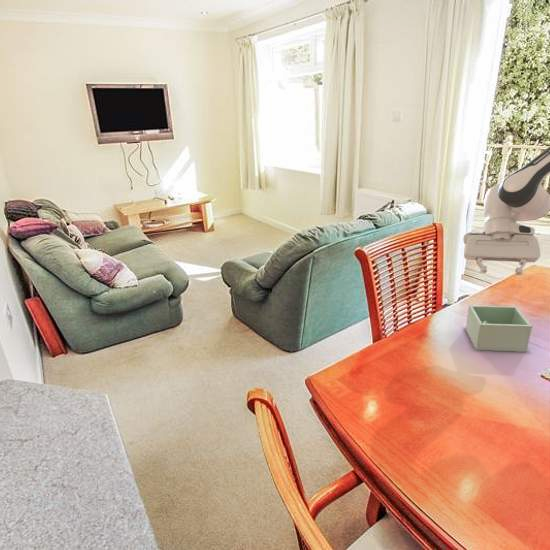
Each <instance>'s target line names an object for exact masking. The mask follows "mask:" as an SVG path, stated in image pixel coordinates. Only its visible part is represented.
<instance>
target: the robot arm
mask: <svg viewBox="0 0 550 550" xmlns="http://www.w3.org/2000/svg"><path fill="white" fill-rule="evenodd" d="M549 175H550V146H548V147H547V148H546V149H544V150H543V151H542V152H541V153H539V154H538V155H536V157H534V158H533V159H532V160H530V161H529V162H528V163H527V164H525V165H524V166H522V167H521V168H519V169H516V170H515V171H513V172H511V173H510V174H508V175H507V176H505V177H504V178H503V180H501V183H498V184H494V185H492V186H491V187H490V188H489V189H488V190H487V191H486V193H485V195H484V201H483V216H484V222H483V231H476V232H475V231H468V232H467V233H465V234H464V235H463V238H462V239H463V240H462V241H463V244H464V249H463V250H464V252H463V258H464V259H465V260H467V261H475V262H476V265H477V267H479V273H480V274H487V272H488V266H487V265H484V263H483V261H485V262H487V261H489V262H510V263H511V262H512V263H514V262H515V263H518V265H519V267H516V268H515V269H514V272H515V274H514V275H515V276H522V275H523V273H524V272H523V269H524V267H525V265H526V264H527V263H535V262H537V261H538V260H539V259H540V258H541V247H540V242H539V239H538V238H537V237H536V236H534V235H535V233H536V229H535V228H534V227H533V226H527V225H524V224H522V223H521V224H520V223H518V222H529V221H536V220H539V219H541V218H543V217H545V216H546V215H547V214H549V212H550V194H549V192H548V191H547V190H546V188H545V187H544V186H543V185H542V183H543V182H544V180H545V179H546V178H547V177H548V176H549Z"/></svg>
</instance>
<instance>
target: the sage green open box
mask: <svg viewBox="0 0 550 550" xmlns="http://www.w3.org/2000/svg"><path fill="white" fill-rule="evenodd" d="M484 321H487V322H489V323H491V324H483V323H482V322H484ZM465 330H466V332H467V333H466V334H468V336H469V339H470V341H471V343H472V345H473V347H474V349H475V350H476V351H495V352H497V351H500V352H517V353H527V350H528V346H529V343H530V338H531V333H532V330H533V325H532V324H531V323H530V321H529V320H528V319H527V318H526V316H525V315H524V314H523V312H522V311H521V310H520V309H519V308H518V306H516V305H470V304H469V305H468V311H467V317H466V324H465Z"/></svg>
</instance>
